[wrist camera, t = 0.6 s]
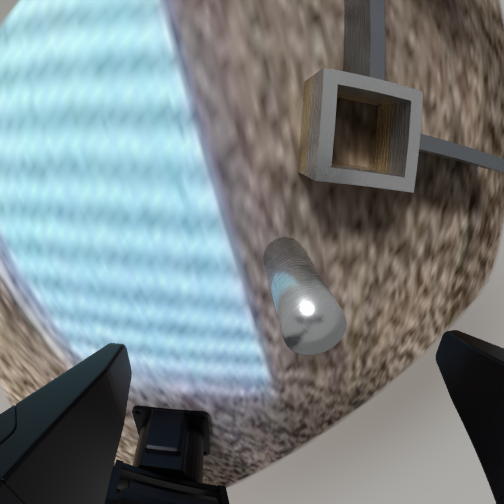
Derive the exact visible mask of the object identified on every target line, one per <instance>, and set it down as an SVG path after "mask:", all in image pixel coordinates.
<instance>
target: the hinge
mask: <svg viewBox="0 0 504 504" xmlns="http://www.w3.org/2000/svg"><path fill="white" fill-rule="evenodd" d="M384 80H385V12H384V0H345V32H344V66H343V71H339V70H334V69H328V68H323V69H321V70H320V71H319V72H317V73H316V74H314V75H313V76H312V77H310V78H309V79H308V80H306V81H305V84H304V99H303V114H302V127H301V140H300V153H299V165H298V172H299V173H301V174H303V175H305V176H307V177H309V178H311V179H313V180H314V181H321V182H331V183H341V184H350V185H359V186H368V187H376V188H383V189H391V190H398V191H405V192H412V193H414V187H415V179H416V172H417V163H418V154H419V152H421V153H426V154H430V155H434V156H438V157H443V158H447V159H451V160H454V161H458V162H462V163H466V164H469V165H473V166H477V167H481V168H486V169H490V170H494V171H498V172H502V173H504V159H501V158H499V157H496V156H493V155H490V154H487V153H484V152H481V151H478V150H475V149H472V148H469V147H466V146H462V145H459V144H456V143H452V142H449V141H445V140H442V139H438V138H434V137H431V136H427V135H423V134H420V133H421V119H422V101H423V91H420V90H416V89H413V88H410V87H406V86H403V85H399V84H396V83H392V82H388V81H384ZM337 98H341V99H346V100H352V101H357V102H362V103H367V104H372V105H377V106H378V115H377V129H376V140H375V151H374V161H373V169H371V168H364V167H357V166H349V165H341V164H333V163H332V155H333V143H334V131H335V118H336V104H337Z"/></svg>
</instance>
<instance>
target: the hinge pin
mask: <svg viewBox="0 0 504 504" xmlns="http://www.w3.org/2000/svg"><path fill="white" fill-rule="evenodd" d="M263 260H264V265H265V268H266V272H267V276H268V280H269V284H270V288H271V291H272V295H273V299H274V303H275V307H276V311H277V315H278V318H279V322H280V326H281V330H282V334H283V338H284V341H285V343H286V345H287V346H288V347H289V348H290V349H291V350H292V351H294V352H296V353H298V354H302V355H317V354H320V353H323V352H326V351H328V350H329V349H331V348H332V347H334V346H335V345H336V344H337V343H338V342H339V341H340V340H341V338H342V336H343V334H344V332H345V329H346V318H345V315H344V313H343V311H342V310H341V308H340V306H339V305H338V303H337V301H336V300H335V298H334V296H333V295H332V293H331V291H330V290H329V288H328V287H327V285H326V283H325V282H324V280H323V279H322V277H321V275H320V274H319V272H318V270H317V269H316V267H315V266H314V264H313V262H312V261H311V259H310V258H309V256H308V255H307V253H306V251H305V250H304V248H303V247H302V245H301V244H300V243H299V242H298V241H296V240H295V239H292V238H287V237H284V238H279V239H276V240H274V241H273V242H271V243H270V244H269V245H268V246H267V248H266V250H265V252H264V257H263Z"/></svg>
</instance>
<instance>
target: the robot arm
mask: <svg viewBox="0 0 504 504" xmlns="http://www.w3.org/2000/svg"><path fill="white" fill-rule="evenodd" d="M436 361H437V364H438V366H439V369H440V372H441V374H442V376H443V379H444V381H445V384H446V386H447V389H448V392H449V394H450V397H451V399H452V401H453V403H454V406H455V408H456V409H457V412H458V414H459V416H460V418H461V420H462V422H463V424H464V426H465V429H466V431H467V433H468V435H469V437H470V439H471V442H472V444H473V446H474V448H475V451H476V453H477V455H478V458H479V460H480V462H481V465H482V467H483V470H484V472H485V474H486V477H487V480H488V482H489V485H490V487H491V490H492V493H493V495H494V498H495V501H496V504H504V348H501V347H499V346H496V345H493V344H491V343H488V342H486V341H483V340H481V339H478V338H475V337H473V336H470V335H468V334H465V333H462V332H460V331H457V330H452V331H447V332H445V333H444V334H443V336H442V339H441V342H440V345H439V347H438V350H437V353H436ZM130 382H131V366H130V362H129V357H128V352H127V348H126V346H125V345H124V344H116V343H110V344H108V345H106V346H105V347H103V348H102V349H100V350H99V351H97V352H95V353H94V354H92V355H91V356H89V357H88V358H86V359H85V360H83V361H82V362H80V363H79V364H77V365H75V366H74V367H72V368H71V369H69V370H68V371H66V372H65V373H63V374H62V375H60V376H59V377H57V378H55V379H54V380H52V381H51V382H49V383H48V384H46V385H45V386H43V387H42V388H40V389H38V390H37V391H35V392H34V393H32V394H31V395H29V396H28V397H26V398H25V399H23V400H22V401H20V402H18V403H17V404H16V406H15V405H14V406H12V407H11V408H9V409H8V410H6V411H5V412H3V413H1V414H0V504H229V500H228V496H227V491H226V487H225V486H222V485H218V486H216V485H210V484H204V483H202V478H203V455H204V456H206V455H209V454H210V444H209V422H208V414H207V413H206V412H203V411H187V410H174V409H163V408H153V407H144V406H134V407H133V410H132V413H133V417H134V420H135V424H136V427H137V430H138V434H139V440H138V444H137V448H136V453H135V457H134V462H133V466H132V465H129V464H126V463H123V461H120V460H116V464H115V466H114V461H115V457H116V453H117V449H118V445H119V441H120V438H121V434H122V430H123V426H124V420H125V414H126V407H127V401H128V394H129V388H130Z"/></svg>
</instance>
